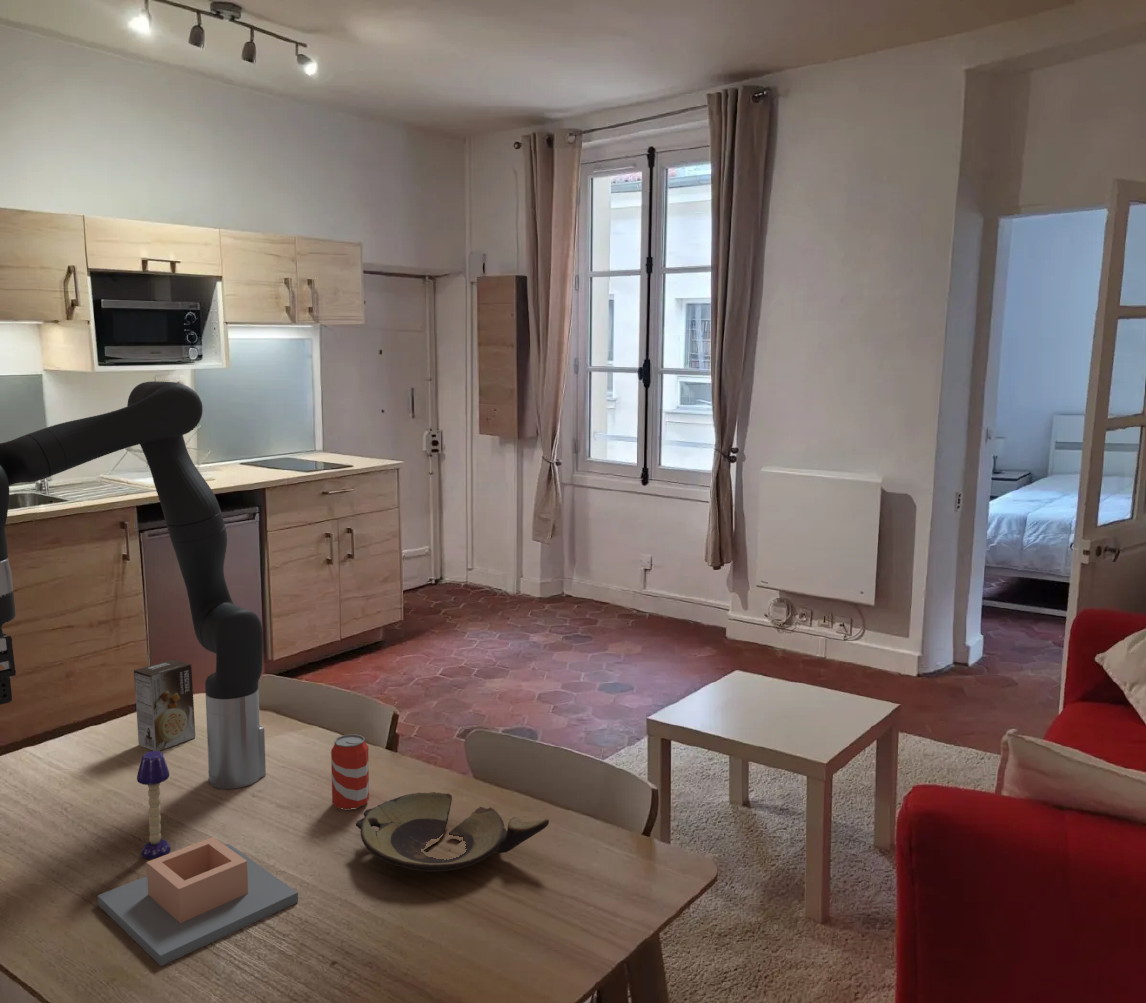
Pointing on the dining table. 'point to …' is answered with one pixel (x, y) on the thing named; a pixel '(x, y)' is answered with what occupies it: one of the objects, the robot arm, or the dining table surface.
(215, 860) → the socket block
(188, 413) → the robot arm
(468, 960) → the dining table surface
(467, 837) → the broken brown handled bowl
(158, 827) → the toy lamp
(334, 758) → the beverage can
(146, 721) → the coffee box
